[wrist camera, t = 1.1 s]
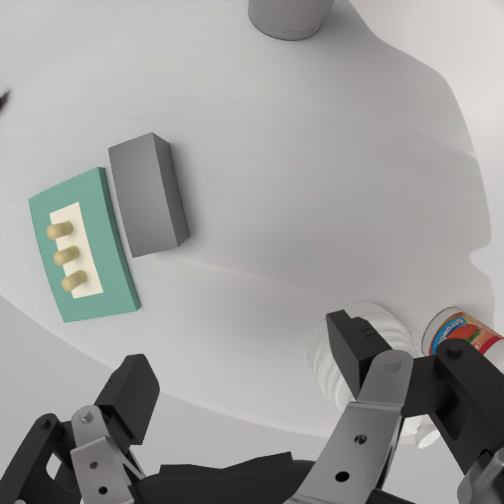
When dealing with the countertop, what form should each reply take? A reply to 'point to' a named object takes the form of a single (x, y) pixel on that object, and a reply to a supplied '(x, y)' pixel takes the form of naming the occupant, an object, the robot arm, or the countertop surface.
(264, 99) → the countertop surface
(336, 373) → the honey pot
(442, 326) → the fruit juice
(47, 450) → the robot arm
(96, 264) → the header board
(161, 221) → the block
